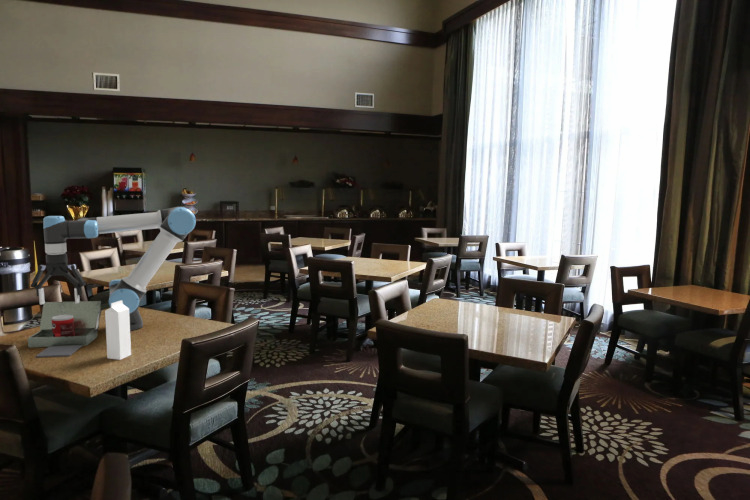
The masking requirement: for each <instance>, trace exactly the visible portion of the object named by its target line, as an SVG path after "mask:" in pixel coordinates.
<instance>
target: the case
mask: <svg viewBox="0 0 750 500" xmlns="http://www.w3.org/2000/svg"><path fill="white" fill-rule="evenodd" d="M42 305H43V306H42V313H41V320H40V325H39V331H37V332H36V333H34V334H32V335H30V336H29V337H27V347H28V348H29V349H30V348H48V347H49V346H67V345H82V347H84V346H88V345H89V344H91V343H92V342H93V341H94V340H95V339H97V338H98V332H99V328H100V319H101V314H102V301H101V300H93V301H92V300H90V301H89V300H88V301H85V300H84V301H82V300H80V302H79V303H77V304H75V301H50V302H49V301H45V303H44V304H42ZM58 315H73V318H74V336H63V337H53V332H52V317H54V316H58Z"/></svg>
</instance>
